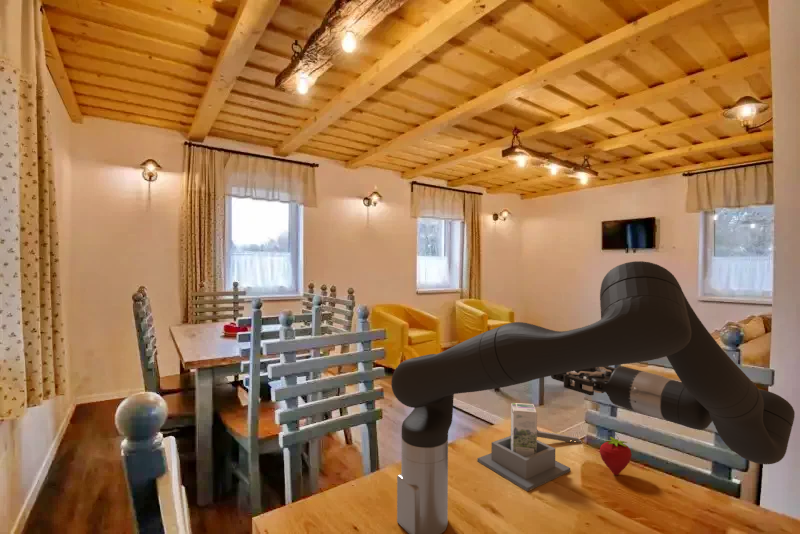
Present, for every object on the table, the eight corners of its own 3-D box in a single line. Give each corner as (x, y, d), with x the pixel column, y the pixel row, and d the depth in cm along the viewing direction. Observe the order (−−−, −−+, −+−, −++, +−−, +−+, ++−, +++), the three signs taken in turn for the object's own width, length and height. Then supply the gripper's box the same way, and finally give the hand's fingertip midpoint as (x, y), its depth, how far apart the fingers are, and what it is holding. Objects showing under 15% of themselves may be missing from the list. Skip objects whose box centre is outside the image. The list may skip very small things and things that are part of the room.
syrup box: (533, 458, 104) (533, 402, 104) (536, 470, 98) (537, 411, 98) (510, 456, 105) (510, 401, 105) (512, 467, 99) (513, 409, 99)
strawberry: (593, 469, 100) (593, 429, 100) (619, 466, 102) (620, 427, 101) (610, 482, 94) (610, 440, 94) (637, 479, 96) (638, 437, 96)
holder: (527, 491, 91) (527, 468, 91) (477, 461, 104) (477, 441, 104) (570, 471, 99) (570, 449, 99) (519, 445, 113) (519, 427, 113)
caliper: (513, 445, 114) (513, 423, 114) (511, 443, 115) (512, 421, 115) (583, 443, 115) (583, 421, 115) (581, 441, 116) (581, 420, 116)
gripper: (621, 420, 70) (542, 392, 84) (660, 404, 78) (582, 381, 92) (622, 378, 70) (543, 357, 83) (661, 366, 78) (583, 348, 91)
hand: (564, 369), depth 87 cm, fingers open, 8 cm apart
